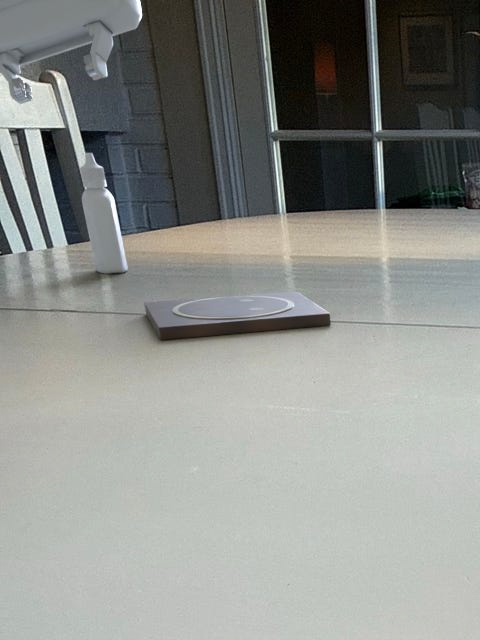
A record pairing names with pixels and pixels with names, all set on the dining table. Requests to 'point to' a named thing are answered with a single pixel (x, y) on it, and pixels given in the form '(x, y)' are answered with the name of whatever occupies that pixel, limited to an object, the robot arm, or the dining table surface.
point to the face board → (234, 315)
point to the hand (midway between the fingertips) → (59, 88)
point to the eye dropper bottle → (101, 219)
